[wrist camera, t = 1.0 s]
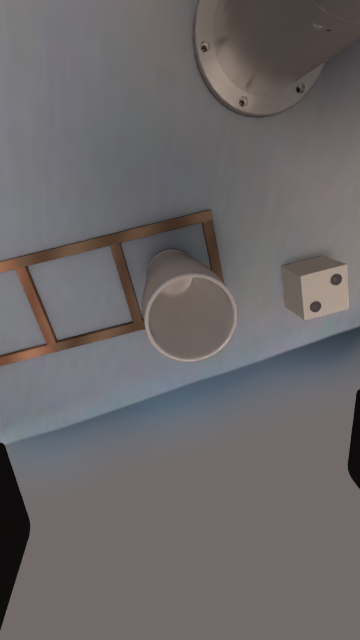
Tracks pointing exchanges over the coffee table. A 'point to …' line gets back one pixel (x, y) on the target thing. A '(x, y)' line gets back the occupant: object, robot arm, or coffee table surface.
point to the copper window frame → (114, 242)
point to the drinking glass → (186, 307)
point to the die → (315, 287)
